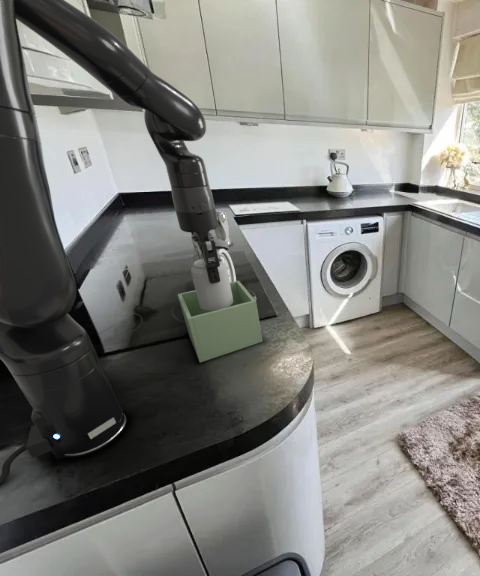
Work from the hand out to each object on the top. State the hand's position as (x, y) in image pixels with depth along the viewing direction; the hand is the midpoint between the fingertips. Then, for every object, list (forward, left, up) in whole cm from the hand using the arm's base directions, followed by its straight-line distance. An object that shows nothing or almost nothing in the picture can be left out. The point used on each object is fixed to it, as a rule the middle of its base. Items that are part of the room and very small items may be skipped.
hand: (211, 276), depth 76 cm
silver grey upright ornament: (+19, +78, -17) cm, 82 cm away
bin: (0, 0, -17) cm, 17 cm away
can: (0, 0, -8) cm, 8 cm away
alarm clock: (+4, +22, -18) cm, 29 cm away
